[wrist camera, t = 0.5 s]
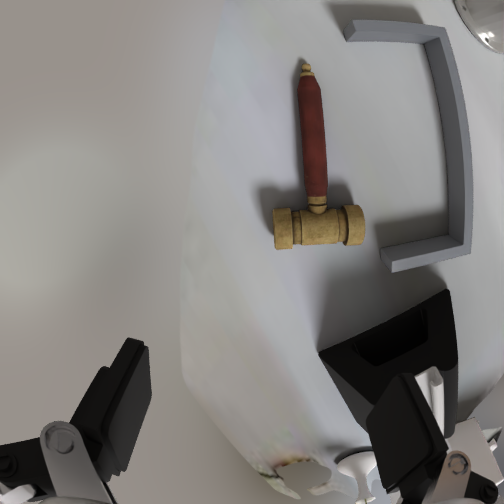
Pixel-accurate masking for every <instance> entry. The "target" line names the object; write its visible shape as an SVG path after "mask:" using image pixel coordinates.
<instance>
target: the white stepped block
mask: <svg viewBox="0 0 504 504" xmlns="http://www.w3.org/2000/svg"><path fill="white" fill-rule="evenodd" d="M445 441H446V443H447V445H448V447H449V449H448V450H447V451H446V452H447V454H448V453H450V452H451V451H455V450H458V451H461V452H463V453H465V454H466V455H467V456H468V458H469V459H470V462H471V471H473V472H475V473H477V474H479V475H481V476H483V477H485V478H487V479H489V480H491V481H493V482H494V483H495V484H496V486H497V485H498V484H500V483H501V482H502V481H503V480H504V478H503V477H502V474H501V472H500V469H499V467H498V465H497V462H496V460H495V458H494V455H493V453H492V451H493V450H494V449H495V448H496V447H497V444H496V442H495V440H494V439H492V440H491V442H490V443H489V444H488V443H487V441H486V439H485V437H484V435H483V432H482V430H481V428H480V426H479V425H478V423H477V421H476V419H475V417H473V418H471V419H468V420H466V421H463V422H460V423H457V424H455V432H454V434H453V435H452V436H451V437H450V438H447V439H445ZM400 495H401V494H400V491H398V492H395V493H390V498H391V503H392V504H396V503H397V501H398V499H399V497H400Z"/></svg>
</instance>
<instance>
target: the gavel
mask: <svg viewBox="0 0 504 504" xmlns="http://www.w3.org/2000/svg"><path fill="white" fill-rule="evenodd" d="M302 70H303V72H302V73H301V74H300V81H299V85H298V89H297V92H298V102H299V112H300V123H301V135H302V148H303V162H304V178H305V188H306V192H307V200H308V203H309V204H308V205H307V206H308V210H299V212H291V211H290V208H277V209H273V211H272V213H273V229H274V244H275V248H276V250H279V249H292V247H293V244H301V245H316V244H333V243H337V242H343V244H344V245H345V246H346V245H360V244H362V242H363V240H364V236H365V219H364V214H363V211H362V209H361V207H360V206H359V205H343V206H342V207H341V209H340V210H335V209H334V208H332V209H327V204H325V203H326V202H327V199H326V195H327V187H328V177H327V158H326V143H325V130H324V118H323V108H322V98H321V89H320V87H319V85H318V83H317V81H316V79H315V76H314V73H313V72H310V70H311V66H310V65H309V64H303V65H302Z"/></svg>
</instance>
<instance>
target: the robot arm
mask: <svg viewBox="0 0 504 504" xmlns="http://www.w3.org/2000/svg"><path fill="white" fill-rule="evenodd" d="M455 4H456V7H457V9H458V12H459V14H460V16H461V18H462V19H463V21H464V23H465V24H466V26H467V27H468V28H469V30H470V31H471V32H472V34H473V35H474V36H475V37H476V38H477V39H478V40H479V41H480V42H481V43H482V44H483V45H484V46H486V47H487V48H488V49H490V50H492V51H494V52H496V53H504V0H455ZM151 396H152V391H151V379H150V365H149V350H148V347H147V346H144V342H143V341H140V340H136V339H133V338H127V339H126V341H125V342H124V344H123V346H122V348H121V349H120V351H119V353H118V354H117V356H116V358H115V359H114V361H113V363H112V365H111V366H110V368H109V367H106V366H103V367H101V368H100V370H99V371H98V373H97V374H96V376H95V378H94V379H93V381H92V383H91V384H90V386H89V388H88V390H87V392H86V393H85V395H84V397H83V398H82V400H81V402H80V404H79V406H78V407H77V409H76V411H75V413H74V415H73V417H72V419H71V420H70V422H69V423H68V422H64V421H54V422H52V423H49V424H47V425H46V426H45V427H44V428H43V430H42V431H41V435H40V437H38V438H34V439H30V440H25V441H21V442H16V443H10V444H5V445H0V504H22V503H24V502H25V501H28V502H35V501H40V500H43V501H41V502H40V503H39V504H118V502H117V500H116V499H115V497H114V495H113V493H112V491H111V489H110V487H109V485H108V483H107V482H109V481H110V479H111V476H112V474H113V475H116V476H119V475H120V472H121V471H123V472H125V471H126V469H127V466H128V463H129V461H130V457H131V455H132V452H133V449H134V446H135V443H136V440H137V437H138V434H139V431H140V429H141V426H142V423H143V420H144V417H145V415H146V412H147V409H148V406H149V404H150V401H151ZM366 427H367V430H368V434H369V437H370V441H371V444H372V448H373V452H374V455H375V459H376V463H377V467H378V470H379V474H380V478H381V482H382V486H383V488H385V489H386V492H387V494H390V493H395V492H398V491H400V494H401V495H400V497H399V499H398V501H397V503H396V504H504V498H503V497H502V496H501V495H500V496H498V488H497V486H496V484H495V483H494V482H493V481H491V480H489V479H487V478H485V477H483V476H481V475H479V474H477V473H475V472H473V471H471V462H470V459H469V458H468V456H467V455H466V454H465V453H463V452H461V451H458V450H455V451H451V452H450V453H448V454H447V452H446V451H447V450H448V449H449V447H448V445H447V443H446V441H445V438H444V436H443V434H442V432H441V430H440V427H439V425H438V423H437V421H436V419H435V417H434V415H433V413H432V410H431V408H430V406H429V404H428V402H427V400H426V398H425V396H424V394H423V392H422V390H421V388H420V386H419V385H418V383H417V381H416V379H415V377H414V375H413V374H412V373H399V374H397V375H396V377H394V378H393V379H392V380H391V382H390V384H389V385H388V387H387V388H386V390H385V391H384V393H383V394H382V396H381V397H380V399H379V400H378V402H377V403H376V405H375V406H374V408H373V409H372V410H371V412H370V413H369V415H368V416H367V418H366Z"/></svg>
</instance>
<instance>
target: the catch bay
mask: <svg viewBox="0 0 504 504" xmlns="http://www.w3.org/2000/svg"><path fill="white" fill-rule="evenodd" d="M343 32H344V35H345V39H346V42H356V41H382V42H405V43H418V44H424V45H425V49H426V52H427V56H428V59H429V63H430V67H431V71H432V75H433V79H434V83H435V88H436V93H437V97H438V103H439V108H440V114H441V120H442V127H443V134H444V142H445V151H446V162H447V176H448V199H449V227H448V235H444V236H439V237H434V238H430V239H425V240H420V241H415V242H410V243H406V244H401V245H396V246H391V247H386V248H381V249H380V251H381V260H382V261H383V262H384V264H385V265H386V266H387V267H388V269H389V270H390V271H391V272H392V273H394V272H398V271H402V270H407V269H411V268H415V267H419V266H424V265H428V264H432V263H436V262H440V261H444V260H448V259H452V258H456V257H459V256H463V255H467V254H471V244H472V229H473V169H472V154H471V143H470V134H469V126H468V119H467V113H466V107H465V101H464V96H463V91H462V86H461V81H460V77H459V73H458V69H457V65H456V61H455V58H454V54H453V51H452V47H451V44H450V41H449V38H448V35H447V32H446V29H445V28H444V27H438V26H432V25H425V24H418V23H409V22H399V21H385V20H351V22H350V23H349V24H348V25H347V27H346V28H345V29H344V31H343Z"/></svg>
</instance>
